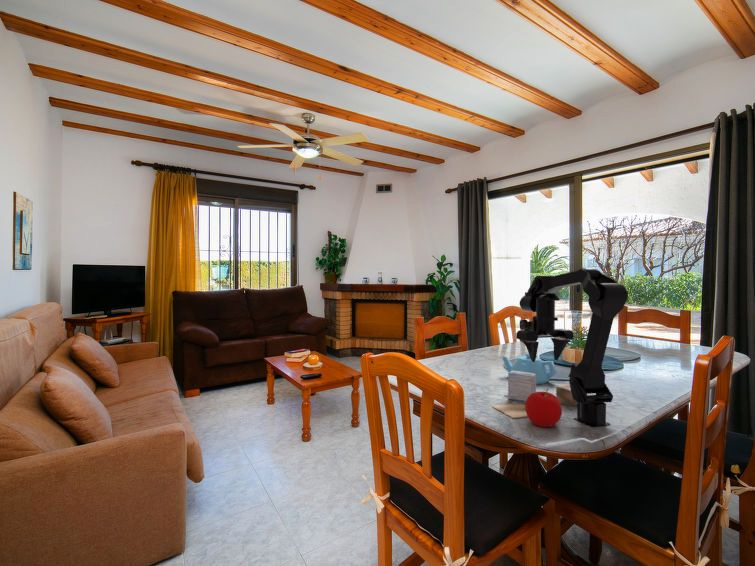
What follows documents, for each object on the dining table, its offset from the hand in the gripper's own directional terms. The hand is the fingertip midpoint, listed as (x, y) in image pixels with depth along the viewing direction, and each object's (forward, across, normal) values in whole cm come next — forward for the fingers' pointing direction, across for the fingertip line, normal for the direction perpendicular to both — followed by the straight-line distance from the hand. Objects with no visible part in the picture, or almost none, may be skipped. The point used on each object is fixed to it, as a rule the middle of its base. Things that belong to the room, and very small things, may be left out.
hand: (544, 360), depth 121 cm
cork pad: (+12, +16, +7) cm, 22 cm away
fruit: (+13, +16, +18) cm, 27 cm away
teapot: (+13, -10, -19) cm, 25 cm away
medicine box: (+13, +8, -1) cm, 15 cm away
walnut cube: (+12, -4, +6) cm, 14 cm away
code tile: (+12, +8, -1) cm, 15 cm away
